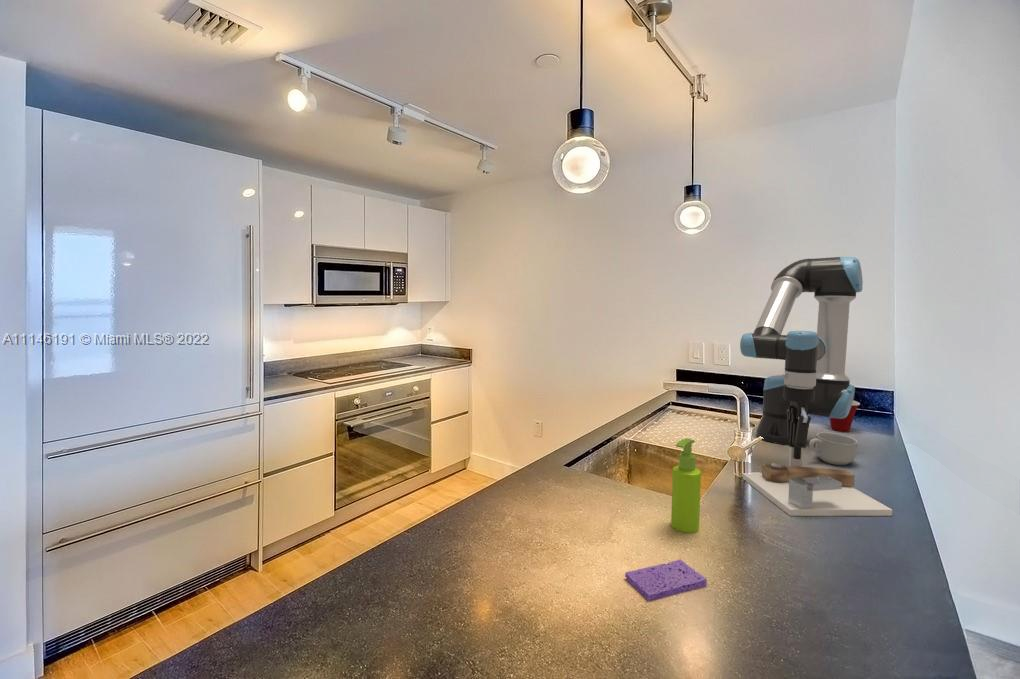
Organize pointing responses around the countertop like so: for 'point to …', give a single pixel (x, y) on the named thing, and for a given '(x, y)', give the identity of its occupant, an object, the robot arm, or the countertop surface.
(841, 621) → the countertop surface
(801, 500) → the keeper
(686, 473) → the soap dispenser
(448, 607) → the countertop surface
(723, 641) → the countertop surface
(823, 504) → the base board
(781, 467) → the latch
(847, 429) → the plastic cup
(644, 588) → the sponges
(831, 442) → the teacup
